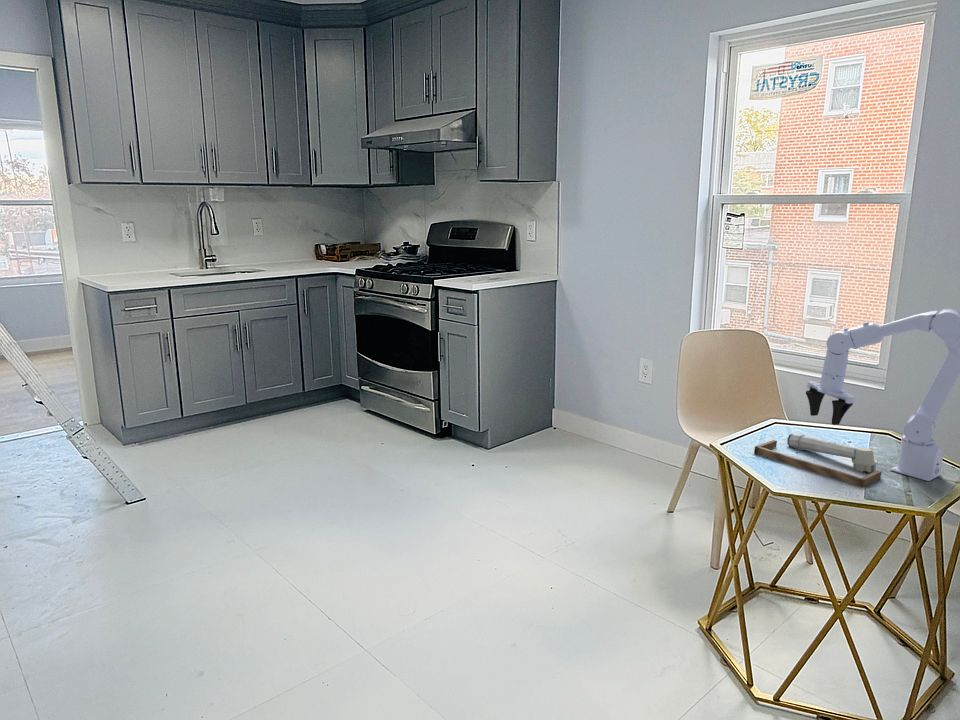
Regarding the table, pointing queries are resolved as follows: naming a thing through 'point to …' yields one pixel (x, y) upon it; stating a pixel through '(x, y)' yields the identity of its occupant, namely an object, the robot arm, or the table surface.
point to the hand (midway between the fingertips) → (824, 419)
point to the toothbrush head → (836, 451)
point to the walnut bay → (815, 466)
